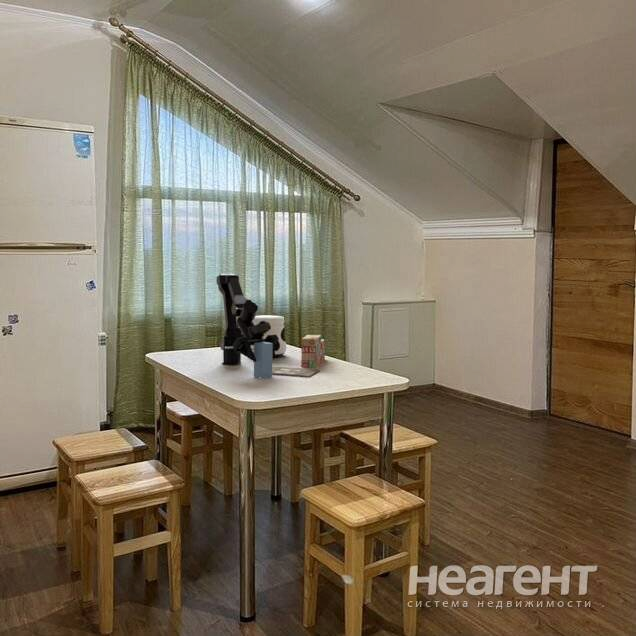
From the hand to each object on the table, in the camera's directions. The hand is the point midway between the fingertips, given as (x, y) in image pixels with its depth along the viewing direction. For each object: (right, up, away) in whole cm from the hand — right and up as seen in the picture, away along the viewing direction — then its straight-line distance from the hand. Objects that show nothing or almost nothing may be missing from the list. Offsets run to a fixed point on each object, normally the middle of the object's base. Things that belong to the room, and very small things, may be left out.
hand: (265, 360), depth 247 cm
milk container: (-3, -2, +51) cm, 51 cm away
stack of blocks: (+18, -4, +34) cm, 39 cm away
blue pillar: (-1, -6, +2) cm, 7 cm away
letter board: (+9, -6, +11) cm, 15 cm away
